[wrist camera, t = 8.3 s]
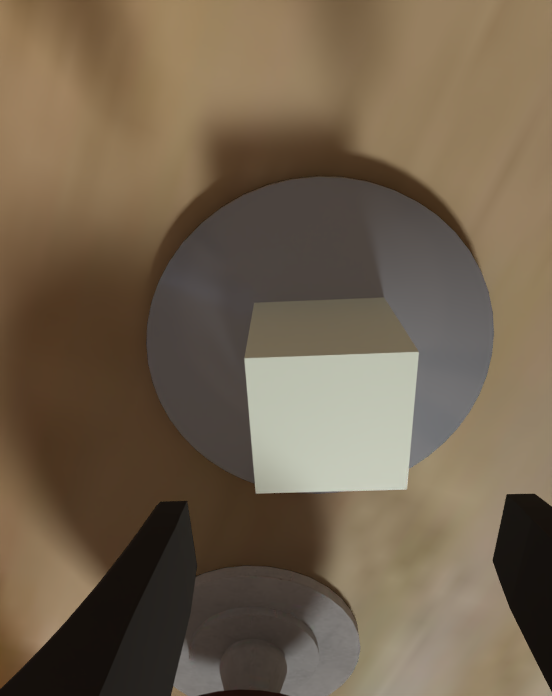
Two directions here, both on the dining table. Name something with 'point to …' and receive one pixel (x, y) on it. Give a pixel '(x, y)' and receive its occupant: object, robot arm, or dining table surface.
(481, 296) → the plate
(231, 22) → the dining table surface
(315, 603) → the mate gourd
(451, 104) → the dining table surface
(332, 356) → the cube
